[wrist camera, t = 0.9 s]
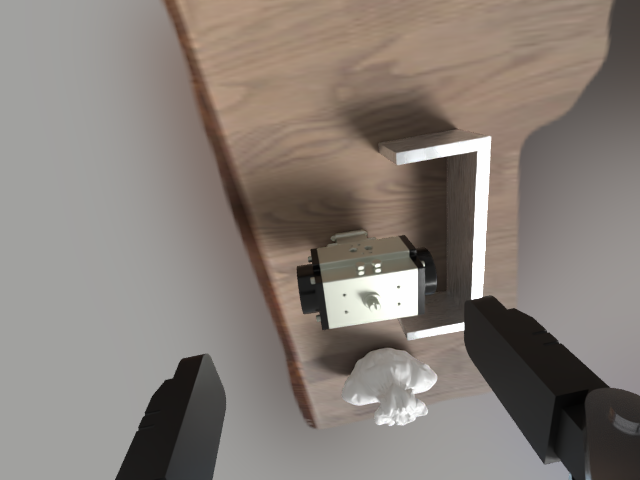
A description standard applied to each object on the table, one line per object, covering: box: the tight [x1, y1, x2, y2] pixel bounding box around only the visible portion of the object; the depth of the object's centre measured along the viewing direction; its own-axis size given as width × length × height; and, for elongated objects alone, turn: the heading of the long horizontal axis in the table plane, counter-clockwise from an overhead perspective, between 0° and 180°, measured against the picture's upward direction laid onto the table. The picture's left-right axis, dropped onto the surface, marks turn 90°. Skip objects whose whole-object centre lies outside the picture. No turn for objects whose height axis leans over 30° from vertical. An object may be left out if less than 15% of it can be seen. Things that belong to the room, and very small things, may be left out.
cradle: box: [378, 129, 491, 340], centre depth 34 cm, size 20×8×6 cm, turn 9°
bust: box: [342, 348, 437, 426], centre depth 40 cm, size 12×8×11 cm
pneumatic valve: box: [297, 230, 437, 330], centre depth 31 cm, size 6×12×12 cm, turn 97°
